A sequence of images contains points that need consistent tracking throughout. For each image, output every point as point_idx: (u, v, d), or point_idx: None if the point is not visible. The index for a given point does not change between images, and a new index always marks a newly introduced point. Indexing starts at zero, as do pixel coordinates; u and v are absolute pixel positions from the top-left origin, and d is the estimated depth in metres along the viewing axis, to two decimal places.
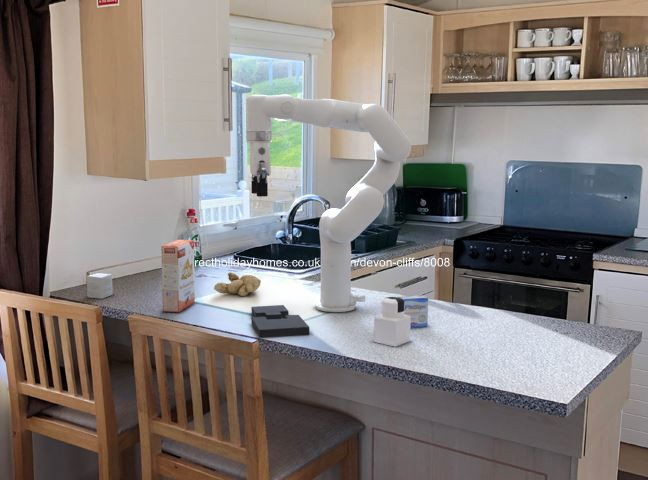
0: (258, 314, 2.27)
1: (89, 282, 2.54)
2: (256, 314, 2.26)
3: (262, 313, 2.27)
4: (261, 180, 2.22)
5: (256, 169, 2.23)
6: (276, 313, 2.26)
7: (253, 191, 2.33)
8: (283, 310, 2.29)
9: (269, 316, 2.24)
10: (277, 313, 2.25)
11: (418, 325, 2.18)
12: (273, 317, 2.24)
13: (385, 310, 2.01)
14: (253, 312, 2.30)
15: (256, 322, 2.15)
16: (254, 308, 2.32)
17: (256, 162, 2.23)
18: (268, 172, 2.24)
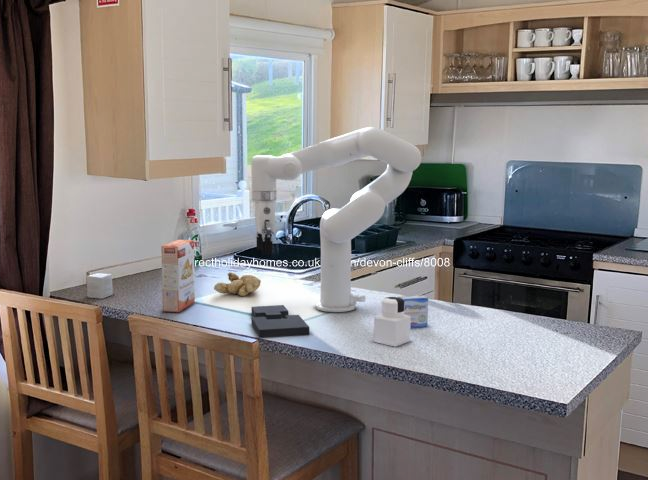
0: (258, 314, 2.27)
1: (89, 282, 2.54)
2: (256, 314, 2.26)
3: (262, 313, 2.27)
4: (266, 239, 2.29)
5: (261, 228, 2.29)
6: (276, 313, 2.26)
7: (258, 247, 2.40)
8: (283, 310, 2.29)
9: (269, 316, 2.24)
10: (277, 313, 2.25)
11: (418, 325, 2.18)
12: (273, 317, 2.24)
13: (385, 310, 2.01)
14: (253, 312, 2.30)
15: (256, 322, 2.15)
16: (254, 308, 2.32)
17: (261, 221, 2.29)
18: (273, 231, 2.30)
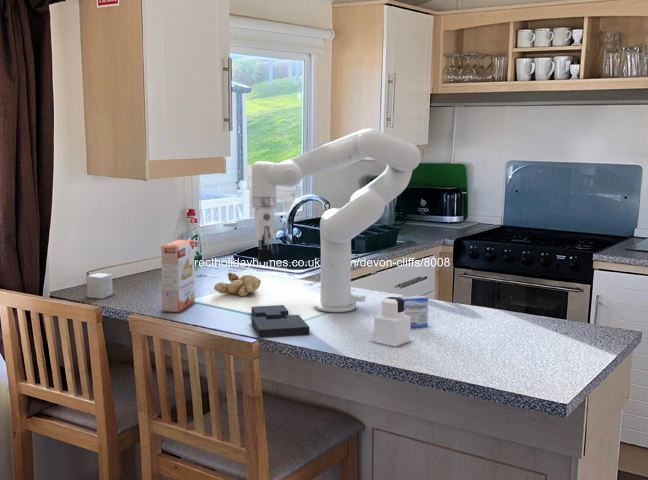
0: (258, 314, 2.27)
1: (89, 282, 2.54)
2: (256, 314, 2.26)
3: (262, 313, 2.27)
4: (263, 247, 2.33)
5: (261, 234, 2.30)
6: (276, 313, 2.26)
7: None
8: (283, 310, 2.29)
9: (269, 316, 2.24)
10: (277, 313, 2.25)
11: (418, 325, 2.18)
12: (273, 317, 2.24)
13: (385, 310, 2.01)
14: (253, 312, 2.30)
15: (256, 322, 2.15)
16: (254, 308, 2.32)
17: (261, 228, 2.29)
18: (272, 237, 2.31)
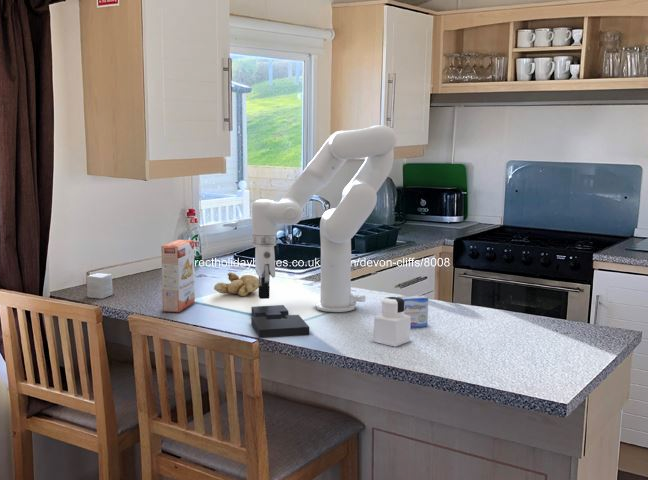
0: (258, 314, 2.27)
1: (89, 282, 2.54)
2: (256, 314, 2.26)
3: (262, 313, 2.27)
4: (263, 284, 2.35)
5: (261, 272, 2.32)
6: (276, 313, 2.26)
7: None
8: (283, 310, 2.29)
9: (269, 316, 2.24)
10: (277, 313, 2.25)
11: (418, 325, 2.18)
12: (273, 317, 2.24)
13: (385, 310, 2.01)
14: (253, 312, 2.30)
15: (256, 322, 2.15)
16: (254, 308, 2.32)
17: (261, 265, 2.31)
18: (273, 275, 2.33)
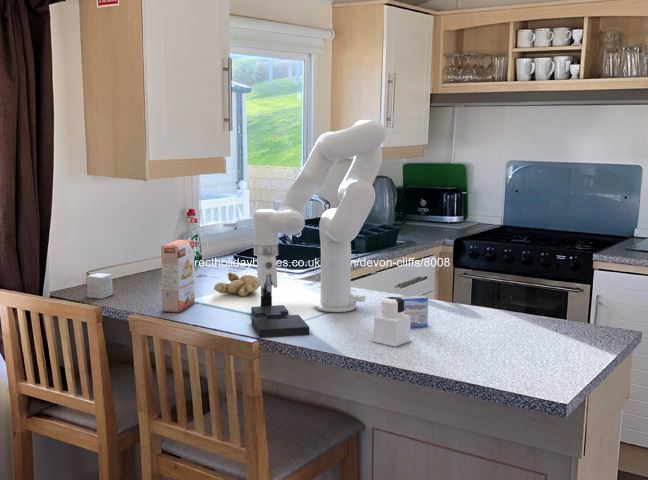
0: (258, 314, 2.26)
1: (89, 282, 2.54)
2: (256, 314, 2.26)
3: (262, 313, 2.27)
4: (265, 294, 2.33)
5: (263, 282, 2.30)
6: (276, 313, 2.25)
7: None
8: (283, 310, 2.29)
9: (269, 316, 2.24)
10: (277, 313, 2.25)
11: (418, 325, 2.18)
12: (273, 317, 2.24)
13: (385, 310, 2.01)
14: (253, 312, 2.30)
15: (256, 322, 2.15)
16: (254, 308, 2.31)
17: (263, 276, 2.29)
18: (275, 285, 2.31)
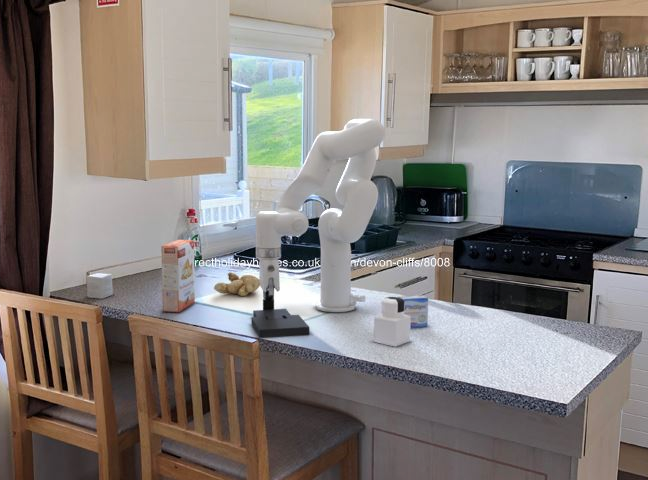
0: None
1: (89, 282, 2.54)
2: None
3: None
4: (268, 298, 2.29)
5: (265, 286, 2.25)
6: (278, 317, 2.21)
7: None
8: (285, 314, 2.24)
9: None
10: (279, 317, 2.21)
11: (418, 325, 2.18)
12: None
13: (385, 310, 2.01)
14: (255, 316, 2.25)
15: (256, 322, 2.15)
16: (256, 312, 2.27)
17: (265, 279, 2.25)
18: (277, 289, 2.26)
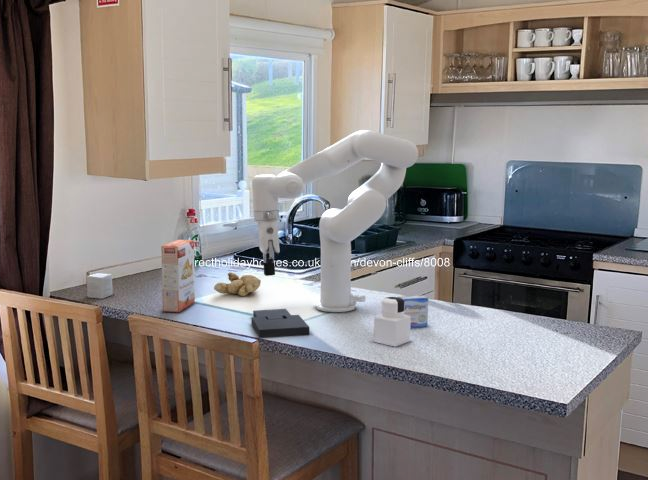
0: None
1: (89, 282, 2.54)
2: None
3: None
4: (268, 261, 2.32)
5: (265, 248, 2.28)
6: (278, 317, 2.21)
7: None
8: (285, 314, 2.24)
9: None
10: (279, 317, 2.21)
11: (418, 325, 2.18)
12: None
13: (385, 310, 2.01)
14: (255, 316, 2.25)
15: (256, 322, 2.15)
16: (256, 312, 2.27)
17: (265, 241, 2.28)
18: (277, 250, 2.29)
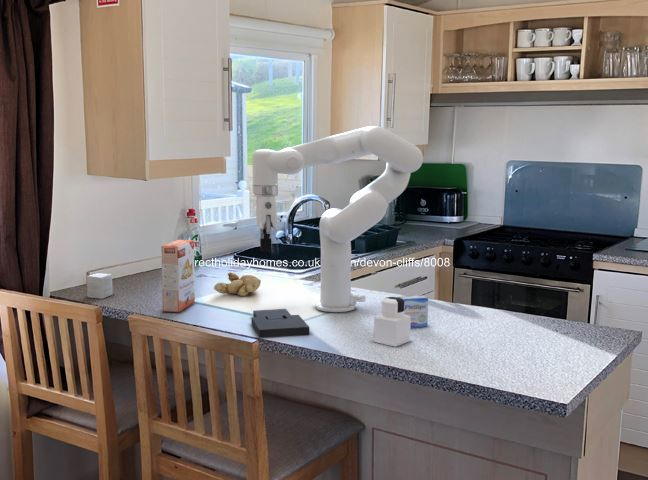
0: None
1: (89, 282, 2.54)
2: None
3: None
4: (265, 236, 2.31)
5: (263, 223, 2.27)
6: (278, 317, 2.21)
7: None
8: (285, 314, 2.24)
9: None
10: (279, 317, 2.21)
11: (418, 325, 2.18)
12: None
13: (385, 310, 2.01)
14: (255, 316, 2.25)
15: (256, 322, 2.15)
16: (256, 312, 2.27)
17: (263, 216, 2.27)
18: (274, 226, 2.28)
